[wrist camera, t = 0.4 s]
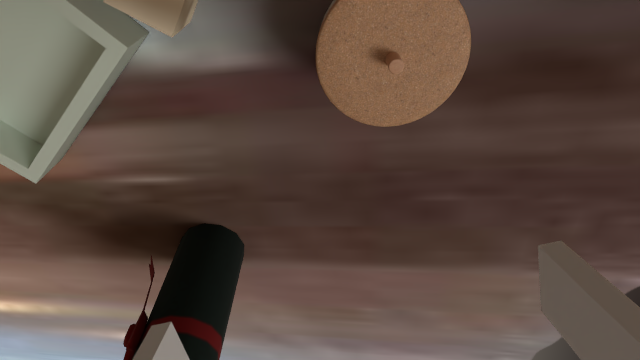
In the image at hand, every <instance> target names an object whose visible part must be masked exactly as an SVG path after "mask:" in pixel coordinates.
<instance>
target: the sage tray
mask: <svg viewBox="0 0 640 360" xmlns="http://www.w3.org/2000/svg"><path fill="white" fill-rule="evenodd" d="M103 1H104V0H0V164H2V165H4V166H6V167H7V168H9V169H11V170H13V171H15V172H16V173H18V174H20V175H22V176H23V177H25V178H27V179H29V180H31V181H32V182H34V183H37V182H38V181H39V180H40V179H41V178H42V177H43V176H45V175H46V174H47V173H48V172H49V171H50V170H51V169H52V168H53V167H54V166H55V165H56V164H57V163H58V162H59V161H60V160H61V159H62V158H63V156H64V155H65V154H66V152H67V151H68V149H69V148H70V146H71V145H72V143H73V142H74V141H75V139H76V138H77V136H78V135H79V133H80V132H81V130H82V129H83V128H84V126H85V125H86V123H87V122H88V120H89V119H90V117H91V116H92V115H93V113H94V112H95V110H96V109H97V107H98V106H99V104H100V103H101V102H102V100H103V99H104V97H105V96H106V94H107V93H108V91H109V90H110V89H111V87H112V86H113V84H114V83H115V81H116V80H117V78H118V77H119V76H120V74H121V73H122V71H123V70H124V68H125V67H126V65H127V64H128V62H129V61H130V60H131V58H132V57H133V55H134V54H135V52H136V51H137V49H138V48H139V47H140V45H141V44H142V42H143V41H144V39H145V38H146V36H147V35H148V34H149V32H148V31H147V30H146V29H144V28H143V27H142V26H141V25H139V24H138V23H137V22H136V21H135V20H133V19H132V18H131V17H130V16H128V15H127V14H126V13H124V12H122V11H120V10H118V9H116V8H114V7H112V6H110V5H108V4H106V3H104V2H103Z"/></svg>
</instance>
